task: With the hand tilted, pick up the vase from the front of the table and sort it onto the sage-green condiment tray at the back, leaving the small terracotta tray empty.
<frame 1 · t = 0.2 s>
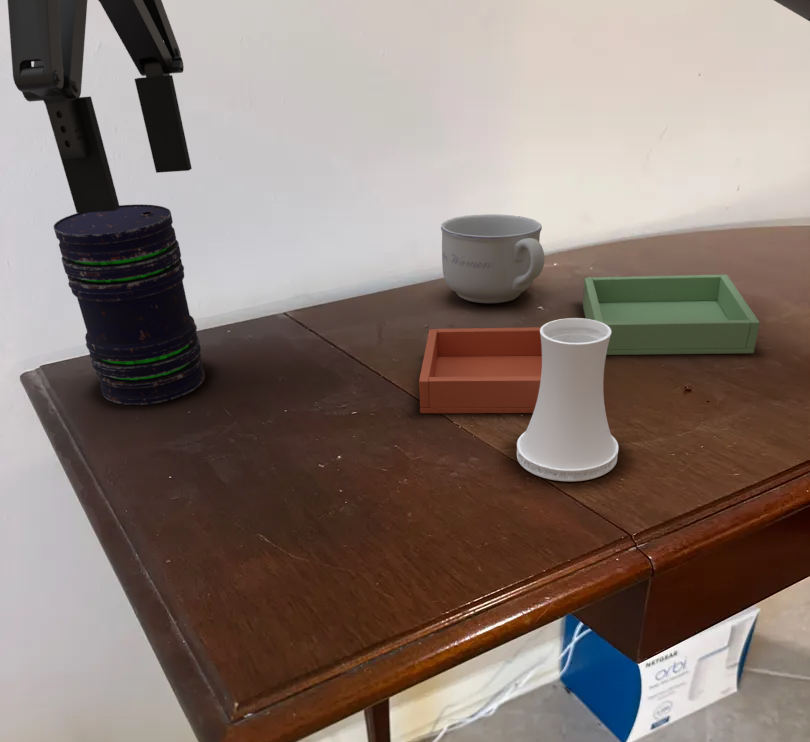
hand: (139, 189, 59), 19 cm above the table, tool pointing down, fingers open, 13 cm apart
green tray: (661, 327, 82), on the table
dark blue cylinder: (154, 384, 77), on the table
teacup: (496, 301, 91), on the table
terracotta tray: (489, 383, 73), on the table
vase: (566, 458, 62), on the table
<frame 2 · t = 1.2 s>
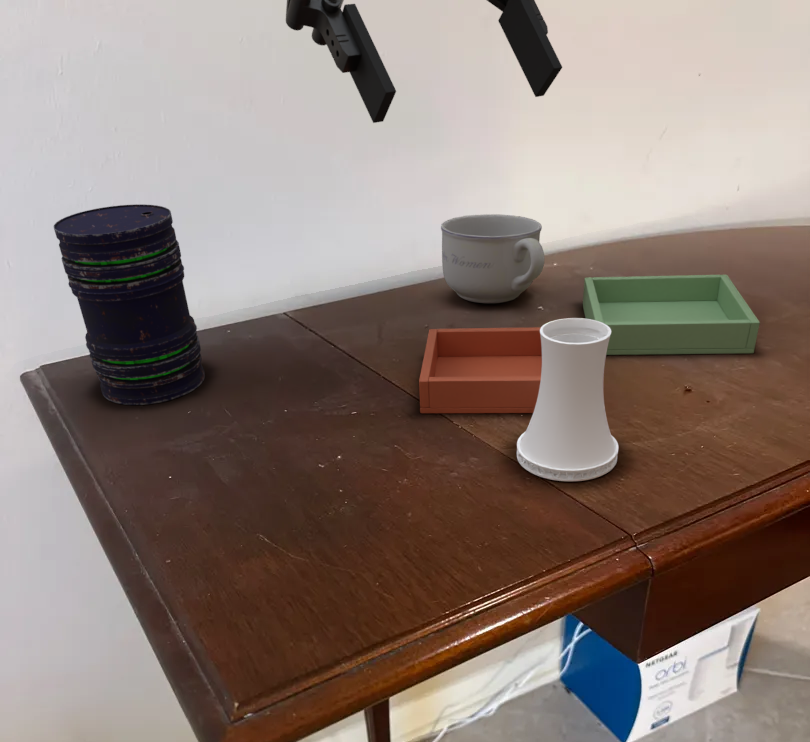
hand: (471, 95, 55), 24 cm above the table, tool tilted 45°, fingers open, 13 cm apart
nothing on the table moved.
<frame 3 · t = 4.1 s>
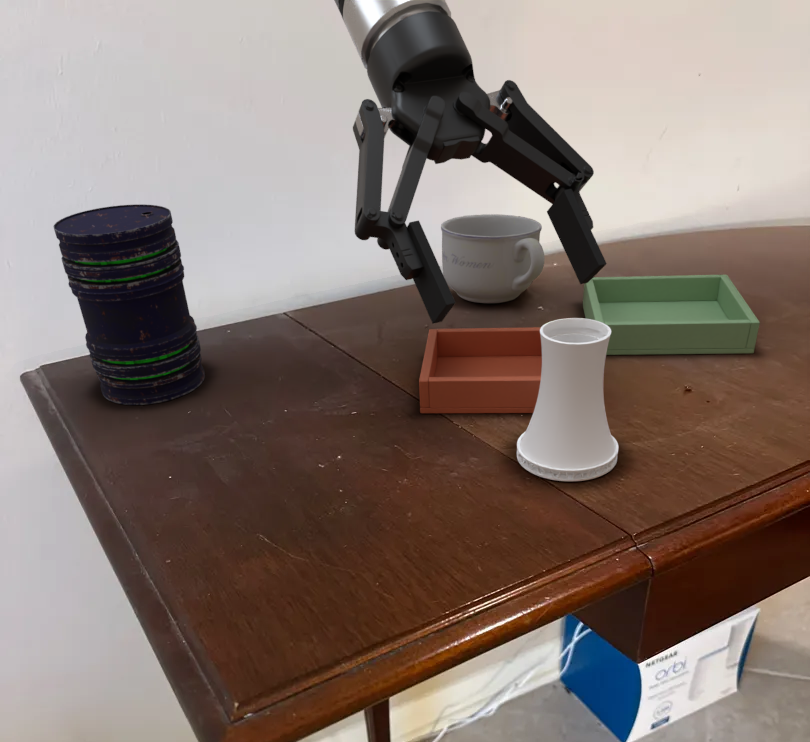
hand: (522, 293, 60), 11 cm above the table, tool tilted 45°, fingers open, 13 cm apart
nothing on the table moved.
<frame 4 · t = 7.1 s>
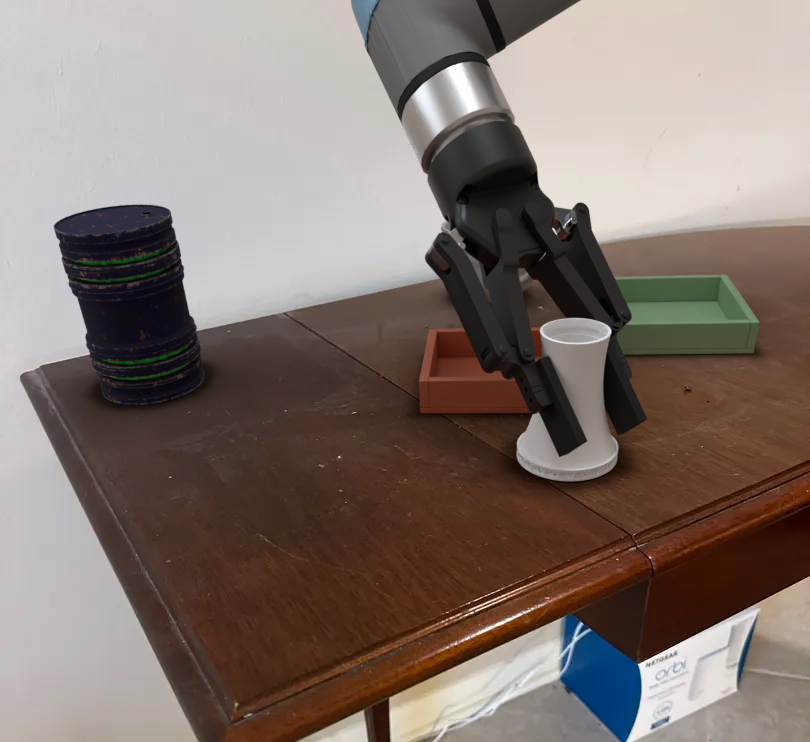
hand: (603, 437, 57), 3 cm above the table, tool tilted 45°, fingers closed on vase, 5 cm apart
vase: (566, 458, 62), on the table, touching gripper
everything else where it was.
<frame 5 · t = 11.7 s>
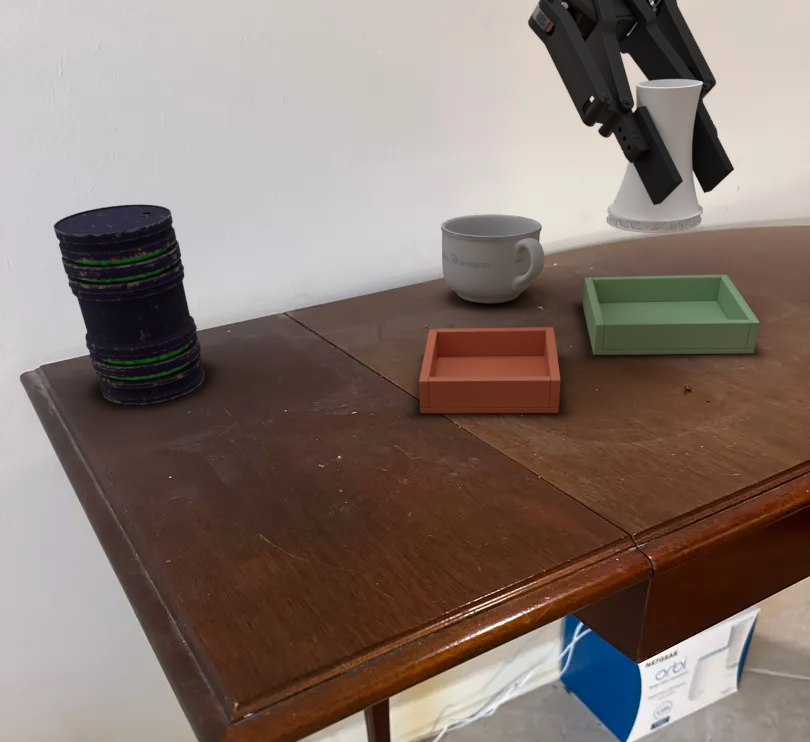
hand: (693, 186, 62), 16 cm above the table, tool tilted 45°, fingers closed on vase, 5 cm apart
vase: (652, 223, 67), point 13 cm above the table, touching gripper
everything else where it was.
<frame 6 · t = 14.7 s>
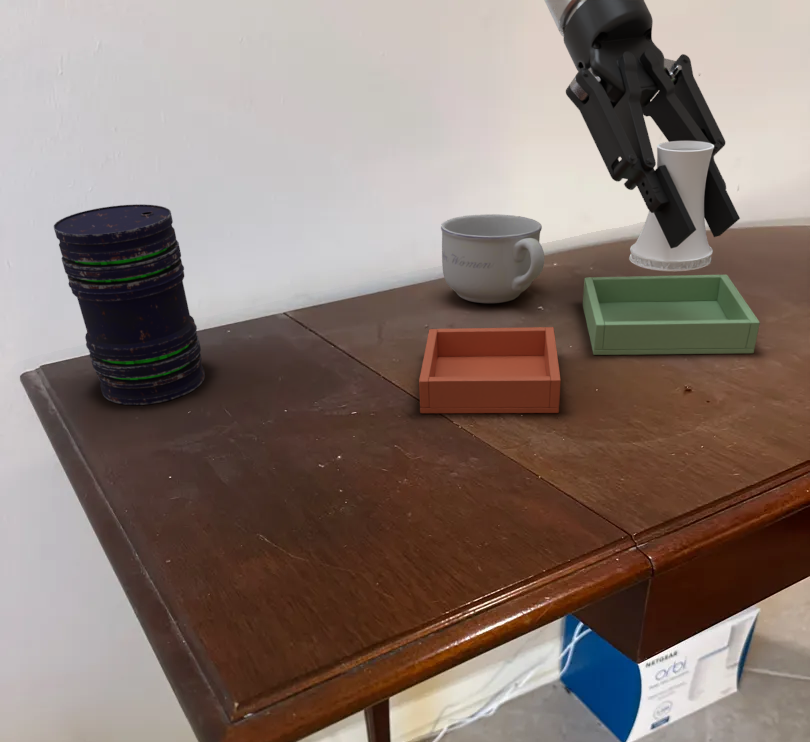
hand: (705, 233, 73), 10 cm above the table, tool tilted 45°, fingers closed on vase, 5 cm apart
vase: (669, 261, 78), point 7 cm above the table, touching gripper
everything else where it was.
when the fingers open (4 cm above the table, at t = 16.6 s): vase stays where it is, resting on green tray.
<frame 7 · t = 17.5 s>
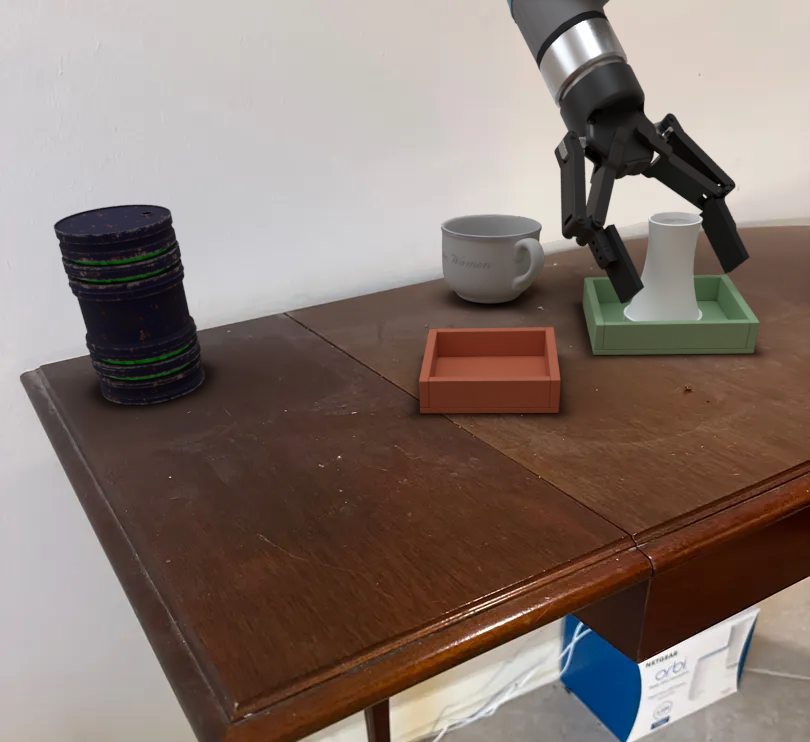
hand: (687, 280, 77), 5 cm above the table, tool tilted 45°, fingers open, 13 cm apart
vase: (661, 324, 82), resting on green tray
everything else where it was.
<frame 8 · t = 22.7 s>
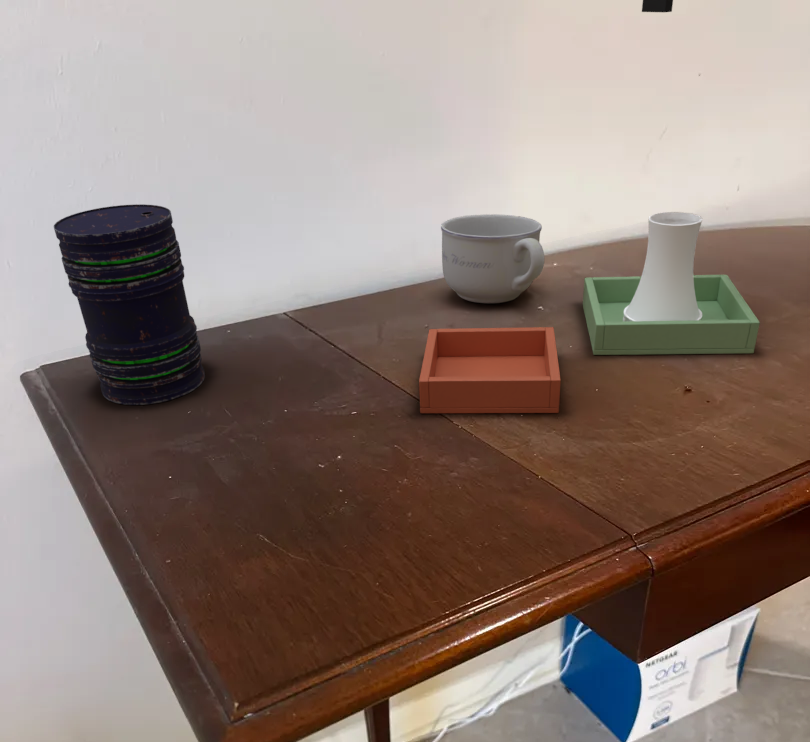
hand: (714, 6, 71), 27 cm above the table, tool pointing down, fingers open, 13 cm apart
nothing on the table moved.
at the end: vase inside the target area in the green tray (0.1 cm from its centre), point 0.3 cm above the green tray's base; vase tilted 0°; vase touching green tray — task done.
